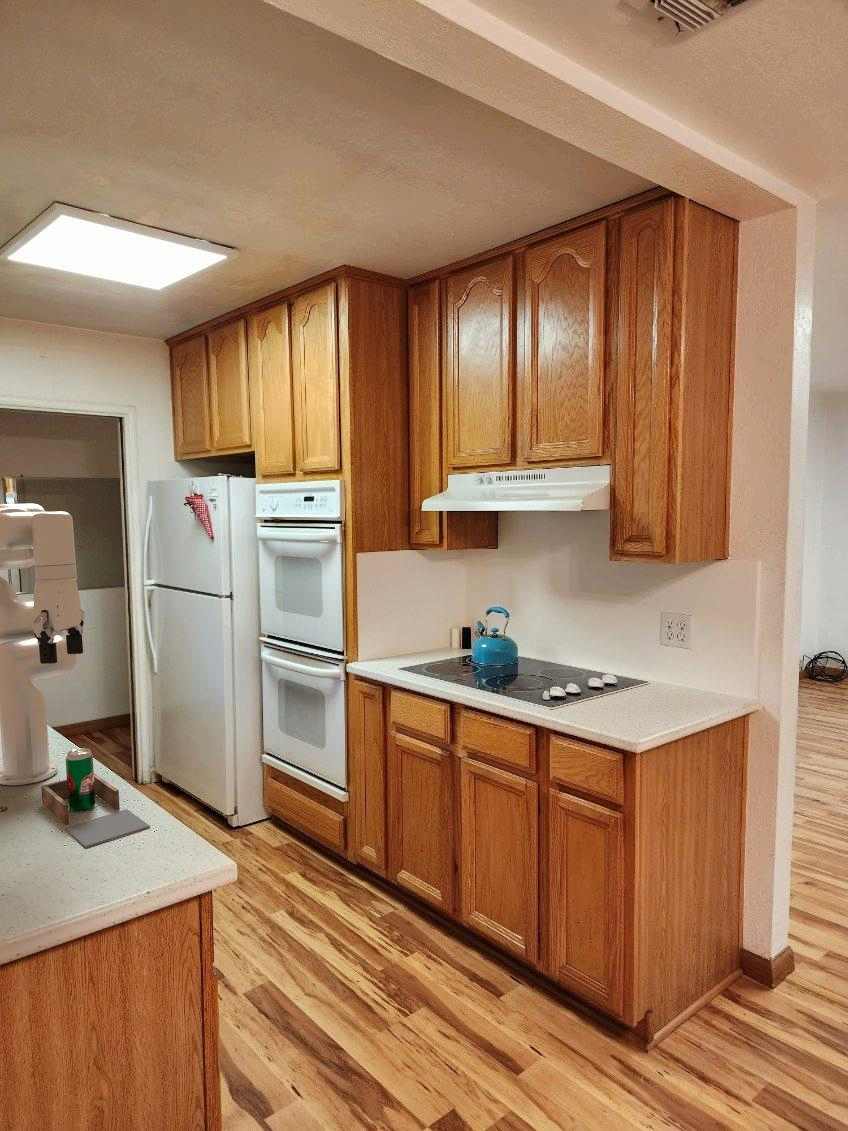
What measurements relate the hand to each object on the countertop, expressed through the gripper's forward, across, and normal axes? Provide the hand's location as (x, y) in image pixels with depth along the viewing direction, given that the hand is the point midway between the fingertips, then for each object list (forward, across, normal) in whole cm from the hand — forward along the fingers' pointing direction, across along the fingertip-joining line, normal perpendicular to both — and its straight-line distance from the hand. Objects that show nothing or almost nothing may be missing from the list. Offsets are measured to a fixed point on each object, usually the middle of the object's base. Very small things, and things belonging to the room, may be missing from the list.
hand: (62, 658), depth 153 cm
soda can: (+32, -1, +1) cm, 32 cm away
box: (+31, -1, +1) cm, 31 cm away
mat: (+32, +8, +11) cm, 35 cm away
